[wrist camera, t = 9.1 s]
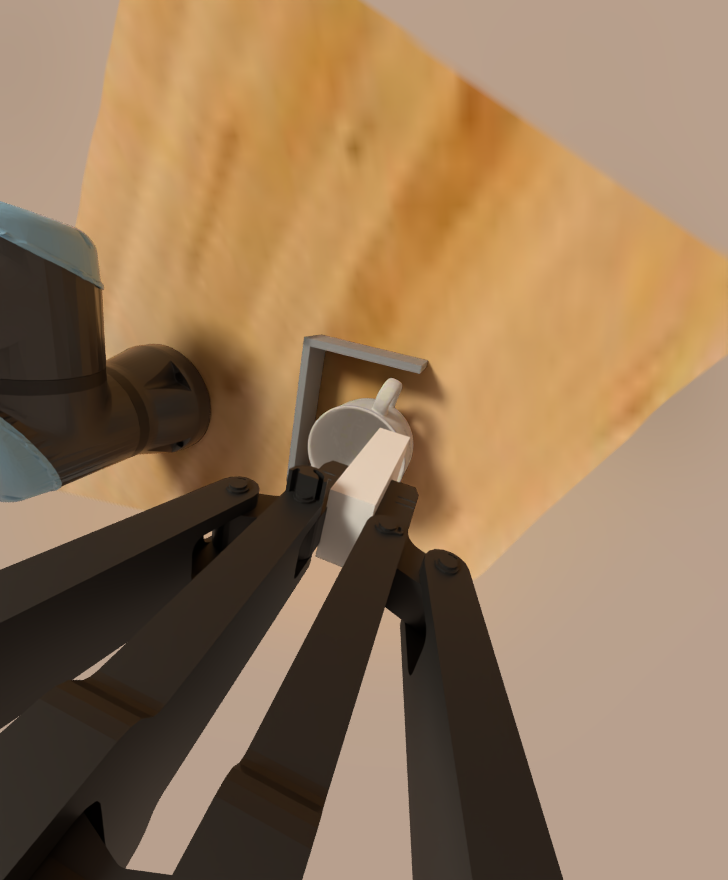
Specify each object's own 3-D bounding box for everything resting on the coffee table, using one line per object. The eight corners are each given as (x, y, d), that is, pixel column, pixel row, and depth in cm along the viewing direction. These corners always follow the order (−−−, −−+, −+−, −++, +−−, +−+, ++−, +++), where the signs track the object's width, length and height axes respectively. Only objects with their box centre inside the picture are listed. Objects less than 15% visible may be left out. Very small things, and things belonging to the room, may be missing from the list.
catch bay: (302, 466, 49) (286, 480, 45) (321, 334, 42) (304, 336, 38) (392, 496, 46) (384, 514, 42) (427, 360, 40) (421, 365, 36)
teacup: (382, 490, 47) (364, 523, 39) (317, 436, 47) (287, 459, 40) (455, 410, 41) (449, 431, 33) (380, 349, 41) (359, 357, 34)
